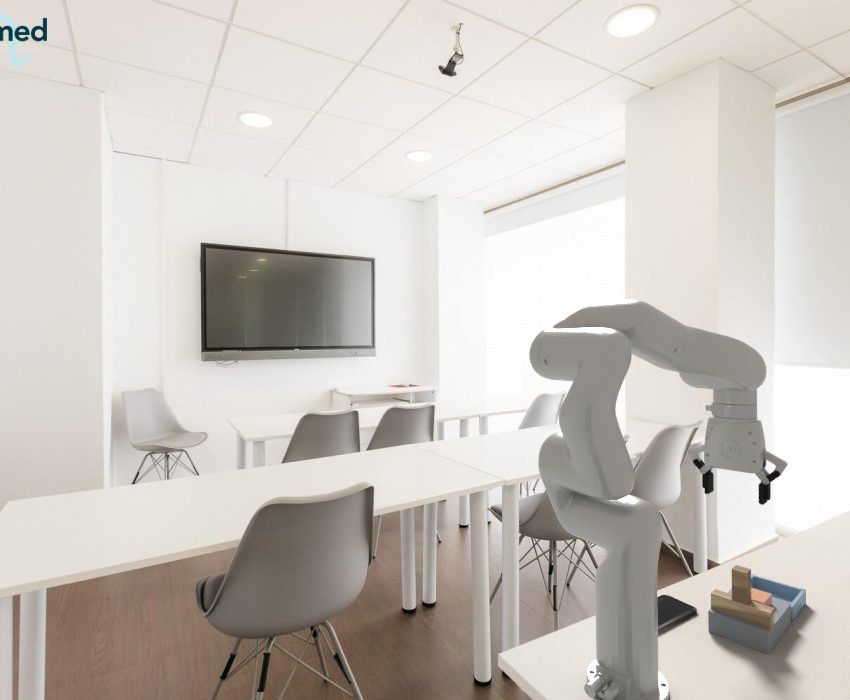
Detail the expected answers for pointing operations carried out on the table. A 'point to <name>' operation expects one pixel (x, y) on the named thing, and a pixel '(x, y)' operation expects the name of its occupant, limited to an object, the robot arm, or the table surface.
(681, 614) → the phone
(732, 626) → the gray rectangular block
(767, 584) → the tray
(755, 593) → the tile
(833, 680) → the table surface
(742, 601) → the scraper
